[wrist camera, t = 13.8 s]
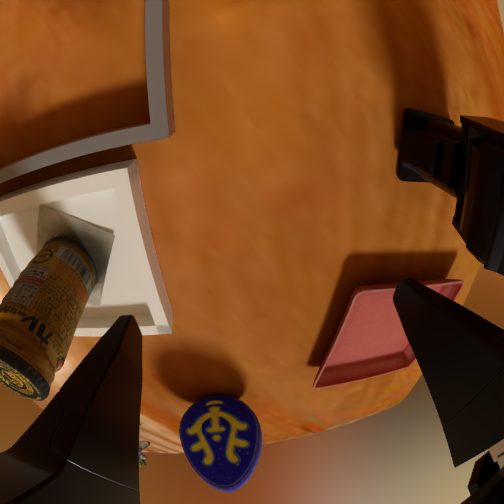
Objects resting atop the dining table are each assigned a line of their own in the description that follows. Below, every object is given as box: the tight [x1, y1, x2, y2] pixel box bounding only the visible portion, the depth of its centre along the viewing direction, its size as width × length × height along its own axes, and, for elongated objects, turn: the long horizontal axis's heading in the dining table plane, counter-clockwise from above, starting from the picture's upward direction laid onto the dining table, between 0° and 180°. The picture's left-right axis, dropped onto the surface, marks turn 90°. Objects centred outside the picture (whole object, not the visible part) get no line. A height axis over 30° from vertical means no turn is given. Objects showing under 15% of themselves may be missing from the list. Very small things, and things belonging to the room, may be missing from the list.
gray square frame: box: [0, 0, 175, 183], centre depth 9 cm, size 20×20×3 cm
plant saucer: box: [313, 279, 464, 389], centre depth 31 cm, size 18×18×3 cm
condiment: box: [0, 205, 115, 401], centre depth 14 cm, size 7×8×12 cm
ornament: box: [179, 395, 262, 492], centre depth 30 cm, size 11×9×15 cm
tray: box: [0, 159, 173, 336], centre depth 19 cm, size 16×15×2 cm
